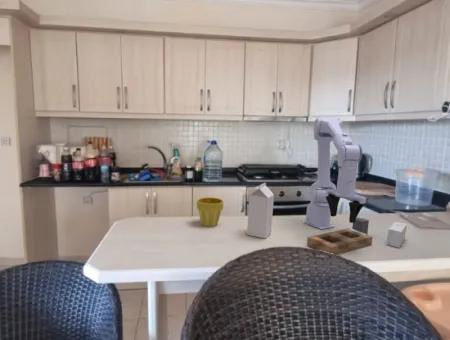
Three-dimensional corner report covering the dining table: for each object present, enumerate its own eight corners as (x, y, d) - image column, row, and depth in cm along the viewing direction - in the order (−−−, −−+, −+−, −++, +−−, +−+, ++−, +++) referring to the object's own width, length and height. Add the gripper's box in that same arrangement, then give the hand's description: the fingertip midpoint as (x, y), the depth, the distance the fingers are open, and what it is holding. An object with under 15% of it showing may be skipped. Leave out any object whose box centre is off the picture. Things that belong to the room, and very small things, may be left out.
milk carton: (271, 233, 120) (274, 183, 117) (265, 239, 114) (269, 186, 111) (253, 229, 123) (256, 181, 120) (246, 235, 117) (249, 184, 114)
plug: (351, 233, 124) (353, 216, 123) (358, 231, 126) (359, 214, 125) (360, 236, 121) (362, 219, 120) (367, 235, 123) (369, 217, 122)
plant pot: (206, 230, 120) (207, 204, 119) (191, 222, 128) (192, 198, 126) (227, 225, 126) (228, 201, 125) (212, 218, 134) (213, 196, 133)
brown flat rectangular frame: (306, 245, 109) (307, 236, 109) (347, 235, 121) (348, 227, 121) (330, 256, 101) (331, 246, 101) (371, 244, 113) (372, 235, 112)
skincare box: (405, 239, 121) (399, 248, 111) (392, 236, 123) (385, 245, 114) (407, 223, 120) (401, 231, 110) (394, 221, 122) (388, 228, 113)
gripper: (321, 177, 112) (318, 214, 114) (358, 185, 100) (353, 227, 102) (334, 176, 115) (331, 212, 117) (371, 183, 103) (367, 224, 105)
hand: (342, 219), depth 110 cm, fingers open, 7 cm apart
